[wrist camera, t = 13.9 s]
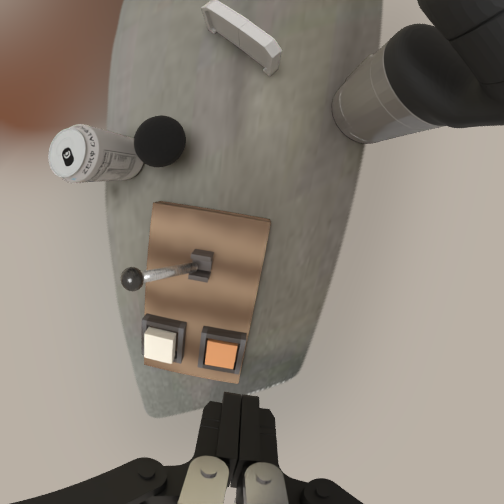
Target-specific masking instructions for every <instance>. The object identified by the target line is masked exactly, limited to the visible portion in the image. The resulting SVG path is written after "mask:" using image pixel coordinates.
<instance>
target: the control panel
mask: <svg viewBox="0 0 504 504" xmlns="http://www.w3.org/2000/svg"><path fill="white" fill-rule="evenodd" d="M270 225H271V222H270V219H265V218H260V217H254V216H249V215H243V214H237V213H232V212H226V211H220V210H214V209H208V208H202V207H196V206H189V205H183V204H177V203H170V202H163V201H159V202H155V203H153V208H152V217H151V226H150V235H149V246H148V258H147V270H152V269H158V268H163V267H169V266H175V265H180V264H186V263H191V262H194V263H196V264H197V266H198V269H197V271H196V272H193V273H188V274H184V275H179V276H174V277H170V278H165V279H160V280H155V281H151V282H146V290H145V316H144V317H143V319H142V355H144V333H145V332H146V330H147V329H148V327H153V328H157V329H161V330H166V331H170V332H175V333H176V347H175V357H174V360H173V362H172V364H169V363H165V362H161V361H157V360H153V359H149V358H145V357H144V365H148V366H152V367H156V368H160V369H164V370H169V371H173V372H177V373H182V374H187V375H191V376H196V377H202V378H207V379H212V380H218V381H224V382H230V383H236V384H238V382H239V377H240V372H241V368H242V363H243V358H244V354H245V349H246V344H247V339H248V334H249V330H250V325H251V320H252V315H253V310H254V305H255V300H256V295H257V290H258V285H259V280H260V275H261V270H262V265H263V260H264V255H265V250H266V245H267V240H268V235H269V230H270ZM208 338H210V339H215V340H221V341H226V342H232V343H238V346H237V351H236V357H235V362H234V367H233V369H229V368H223V367H217V366H211V365H206V364H205V358H206V351H207V343H208Z"/></svg>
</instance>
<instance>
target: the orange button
mask: <svg viewBox="0 0 504 504" xmlns="http://www.w3.org/2000/svg"><path fill="white" fill-rule="evenodd" d="M237 346H238V343H232V342H226V341H221V340H215V339H210V338H208V343H207V351H206V358H205V364H206V365H211V366H217V367H223V368H229V369H233V367H234V362H235V357H236V351H237Z"/></svg>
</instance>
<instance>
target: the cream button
mask: <svg viewBox="0 0 504 504" xmlns="http://www.w3.org/2000/svg"><path fill="white" fill-rule="evenodd" d="M175 347H176V333H175V332H170V331H166V330H161V329H157V328H153V327H148V329H147V330H146V332H145V333H144V357H145V358H149V359H153V360H157V361H161V362H165V363H169V364H172V362H173V360H174V357H175Z"/></svg>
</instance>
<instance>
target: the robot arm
mask: <svg viewBox="0 0 504 504" xmlns="http://www.w3.org/2000/svg"><path fill="white" fill-rule="evenodd" d="M417 1H418V4H419V6H420V8H421V9H422V11H423V12H424V13H425V15H426V16H427V17H428V19H429V20H430V21H431V22H432V23H433V25H434V26H435V27H434V26H431V25H426V24H413V25H409V26H406V27H404V28H403V29H401V30H400V31H398V32H397V33H396V34H395V35H394V36H393V37H392V38H391V39H390V40H389V41H388V42H387V43H386V44H385V45H384V46H383V47H382V48H381V49H380V50H379V51H378V52H376V53H375V54H371V55H369V56H368V57H367V58H366V59H365V60H364V61H363V62H362V63H361V64H360V65H359V66H358V67H357V68H356V69H355V70H354V71H353V72H352V73H351V74H350V75H349V76H348V77H347V78H346V82H345V83H344V84H343V85H342V86H341V87H340V88H339V89H338V91H337V92H336V93H335V95H334V98H333V101H332V113H333V117H334V120H335V122H336V124H337V126H338V127H339V129H340V130H341V131H342V132H343V133H344V134H345V135H346V136H347V137H349V138H350V139H352V140H354V141H357V142H359V143H365V144H368V143H376V142H379V141H383V140H387V139H391V138H396V137H399V136H404V135H407V134H412V133H416V132H420V131H425V130H429V129H434V128H439V127H443V126H449V127H453V128H467V127H476V126H494V125H504V0H417ZM230 481H231V487H234V488H237V490H236V498H235V501H234V504H363V503H362V502H360V501H359V500H357V499H356V498H355V497H353V496H352V495H351V494H349V493H348V492H346V491H345V490H344V489H342V488H341V487H340V486H338V485H337V484H336V483H334V482H333V481H331V480H328V479H323V478H320V479H314V480H312V481H310V482H309V483H307V482H303V481H299V480H296V479H292V478H290V477H288V476H287V475H285V474H284V473H283V472H282V471H281V469H280V468H279V464H278V454H277V440H276V429H275V417H274V416H273V414H272V413H271V411H270V410H269V409H262V408H259V397H258V396H250V395H243V394H242V396H241V394H235V393H229V392H224V395H223V401H222V403H219V402H213V401H210V402H209V403H208V404H207V405H206V406H205V407H204V409H203V414H202V419H201V424H200V429H199V434H198V439H197V444H196V449H195V453H194V456H193V458H192V459H191V460H190V461H189V462H187V463H185V464H182V465H177V466H163V465H162V464H161V463H160V462H158V461H156V460H154V459H151V458H137V459H135V460H133V461H130V462H128V463H126V464H124V465H122V466H120V467H117V468H115V469H113V470H110V471H108V472H106V473H103V474H101V475H99V476H96V477H93V478H91V479H88V480H86V481H83V482H80V483H78V484H75V485H73V486H69V487H67V488H64V489H61V490H58V491H55V492H52V493H48V494H45V495H42V496H38V497H35V498H31V499H27V500H23V501H19V502H15V503H11V504H223V503H224V497H225V492H226V489H227V487H229V485H230Z"/></svg>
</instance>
